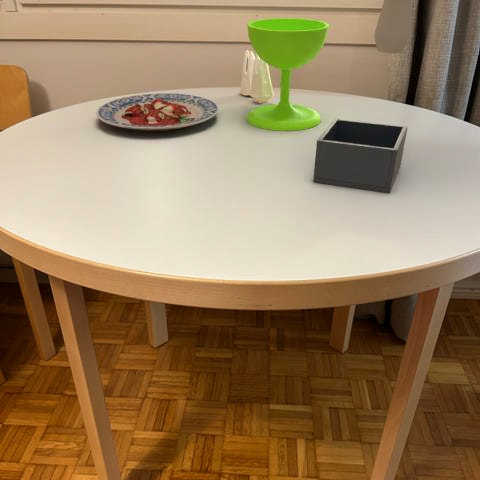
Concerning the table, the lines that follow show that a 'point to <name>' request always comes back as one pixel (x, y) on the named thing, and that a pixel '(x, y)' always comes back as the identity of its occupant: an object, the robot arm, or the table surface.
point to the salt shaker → (394, 26)
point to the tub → (359, 154)
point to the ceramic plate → (157, 111)
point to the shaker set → (256, 78)
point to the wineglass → (286, 67)
